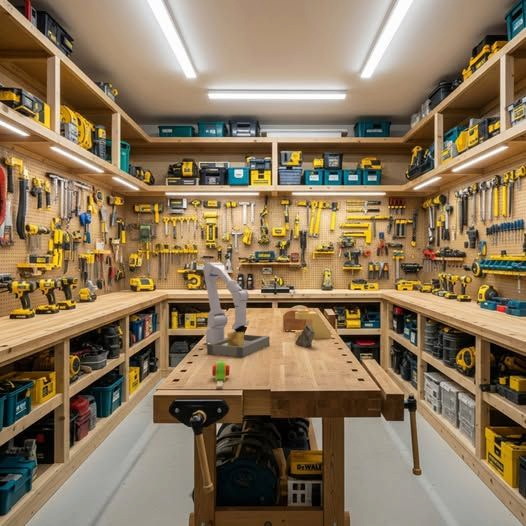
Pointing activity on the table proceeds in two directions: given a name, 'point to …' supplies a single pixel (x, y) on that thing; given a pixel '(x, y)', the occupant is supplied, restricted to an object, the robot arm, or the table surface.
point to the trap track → (249, 346)
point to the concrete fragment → (306, 337)
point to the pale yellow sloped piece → (313, 324)
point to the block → (235, 338)
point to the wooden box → (290, 320)
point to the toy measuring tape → (220, 373)
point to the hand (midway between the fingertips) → (240, 341)
